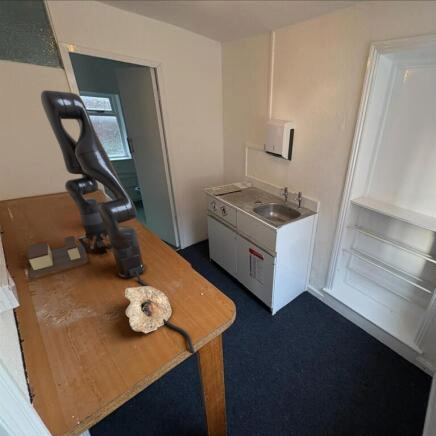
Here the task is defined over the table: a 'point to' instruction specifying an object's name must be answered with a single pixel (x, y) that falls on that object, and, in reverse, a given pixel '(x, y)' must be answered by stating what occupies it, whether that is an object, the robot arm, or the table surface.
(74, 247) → the cake slice
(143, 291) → the seashell
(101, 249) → the knife
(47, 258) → the cake
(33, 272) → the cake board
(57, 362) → the table surface
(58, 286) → the table surface
